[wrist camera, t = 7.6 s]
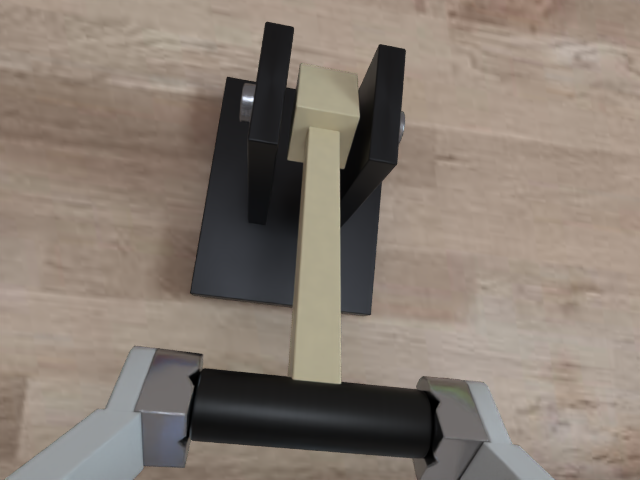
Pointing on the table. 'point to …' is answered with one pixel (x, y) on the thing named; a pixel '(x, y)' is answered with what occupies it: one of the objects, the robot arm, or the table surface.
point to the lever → (315, 318)
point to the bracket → (292, 183)
